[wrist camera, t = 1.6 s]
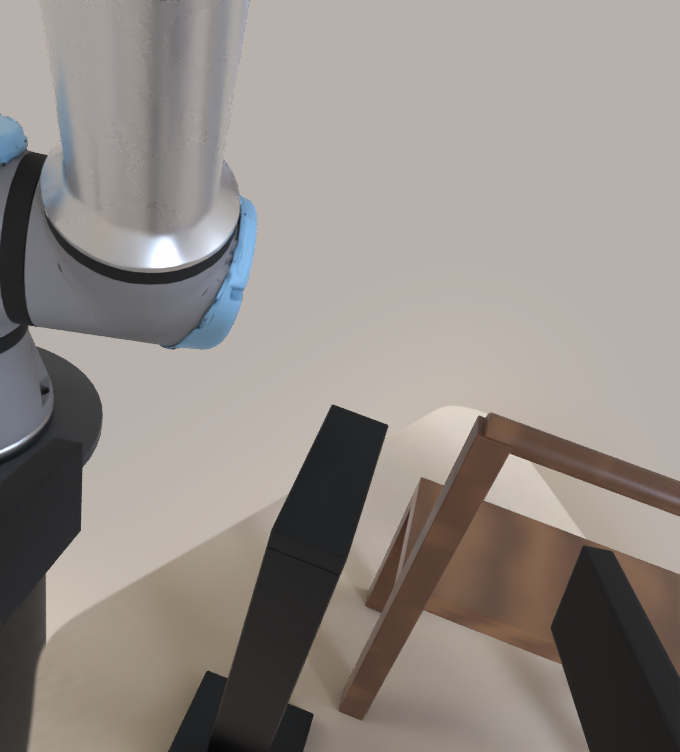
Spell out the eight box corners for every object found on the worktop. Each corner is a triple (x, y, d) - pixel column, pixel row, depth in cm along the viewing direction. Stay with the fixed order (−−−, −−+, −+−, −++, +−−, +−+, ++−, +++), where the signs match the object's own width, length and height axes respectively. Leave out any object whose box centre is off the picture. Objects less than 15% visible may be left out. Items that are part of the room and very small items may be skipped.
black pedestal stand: (272, 852, 31) (389, 624, 20) (147, 799, 32) (198, 548, 21) (327, 663, 40) (427, 438, 30) (230, 624, 41) (294, 389, 30)
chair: (338, 710, 38) (483, 422, 25) (369, 589, 46) (490, 325, 34) (641, 835, 37) (954, 595, 24) (618, 686, 45) (841, 450, 32)
